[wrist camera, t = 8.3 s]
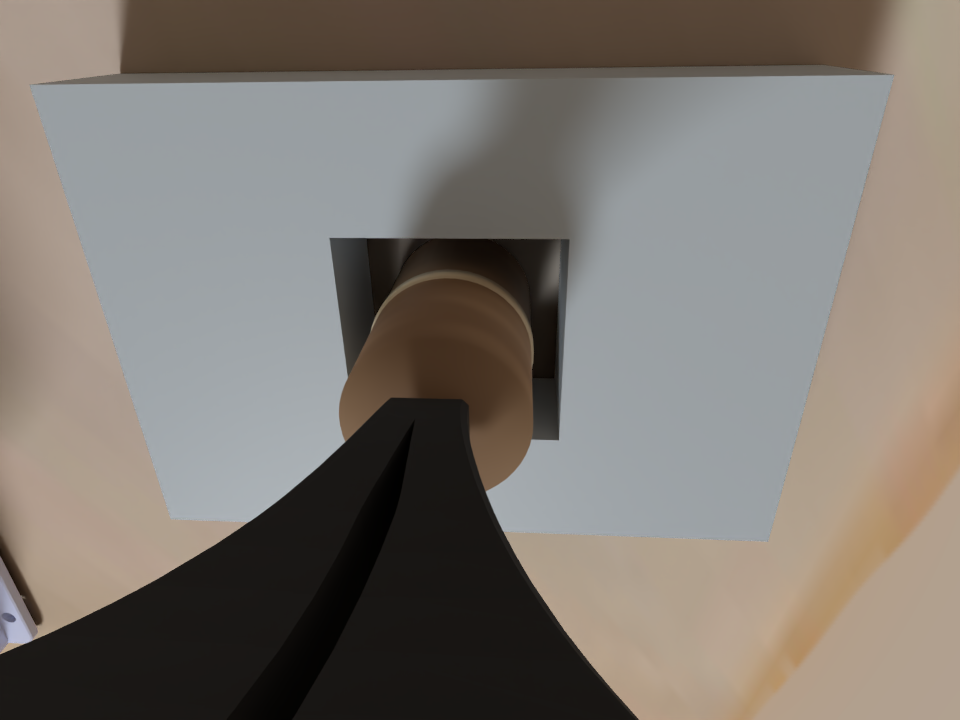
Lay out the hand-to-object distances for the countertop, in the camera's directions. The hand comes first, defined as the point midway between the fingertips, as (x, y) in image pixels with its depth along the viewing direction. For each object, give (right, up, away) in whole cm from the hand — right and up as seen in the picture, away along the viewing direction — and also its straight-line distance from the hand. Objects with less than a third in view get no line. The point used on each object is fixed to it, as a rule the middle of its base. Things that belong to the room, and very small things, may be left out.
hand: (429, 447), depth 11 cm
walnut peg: (0, +3, +6) cm, 7 cm away
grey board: (0, +3, +6) cm, 7 cm away
